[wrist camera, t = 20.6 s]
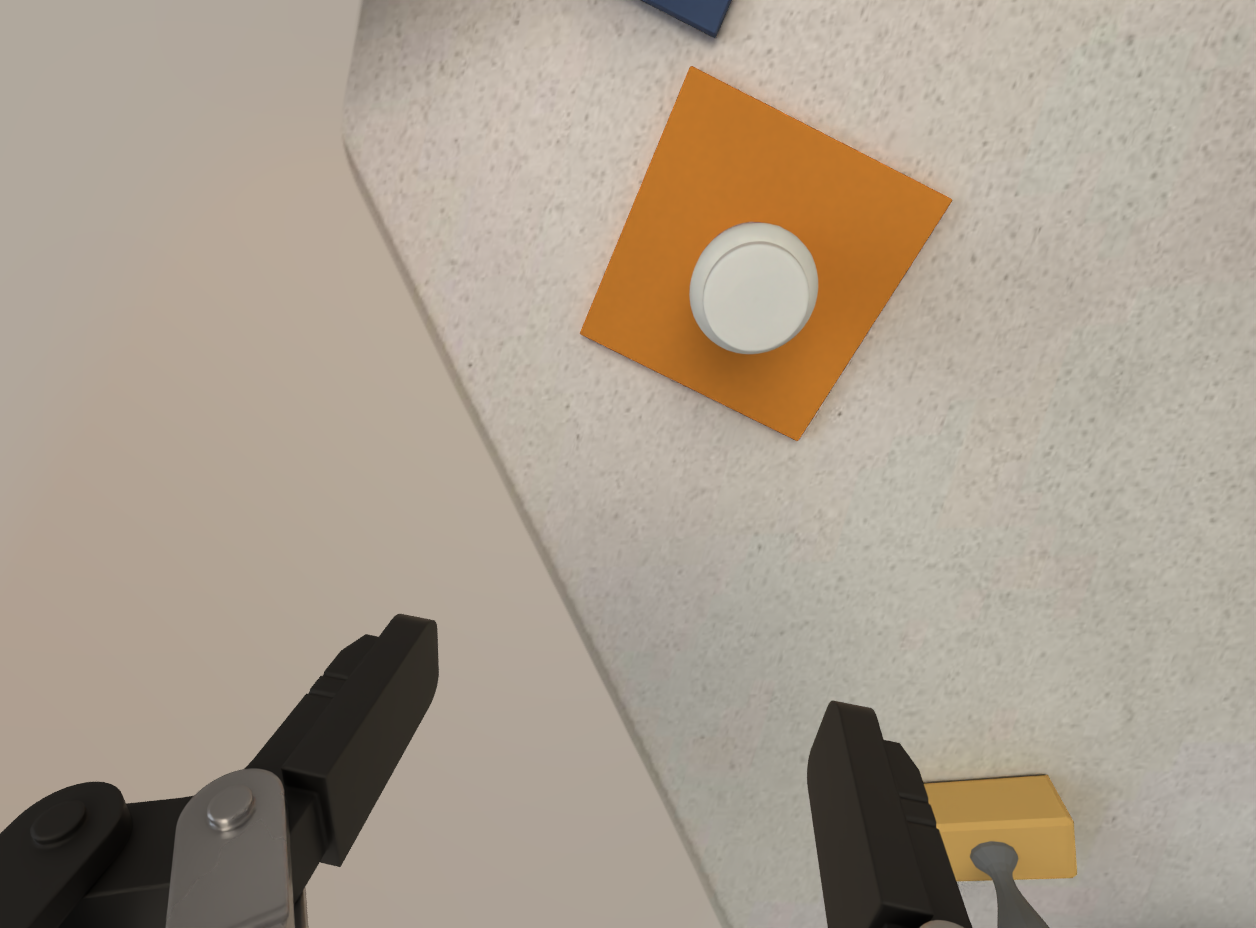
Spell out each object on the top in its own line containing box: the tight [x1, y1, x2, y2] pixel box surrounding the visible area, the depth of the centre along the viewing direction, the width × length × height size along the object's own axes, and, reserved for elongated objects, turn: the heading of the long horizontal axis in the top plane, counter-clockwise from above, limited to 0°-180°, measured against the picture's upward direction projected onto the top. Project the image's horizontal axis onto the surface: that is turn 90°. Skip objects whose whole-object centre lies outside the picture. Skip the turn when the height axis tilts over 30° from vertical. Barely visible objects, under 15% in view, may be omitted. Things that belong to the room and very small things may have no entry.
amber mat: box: [580, 66, 952, 441], centre depth 31 cm, size 14×14×1 cm
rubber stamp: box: [924, 775, 1077, 928], centre depth 38 cm, size 10×6×12 cm, turn 108°
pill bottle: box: [689, 222, 818, 354], centre depth 27 cm, size 5×5×10 cm
